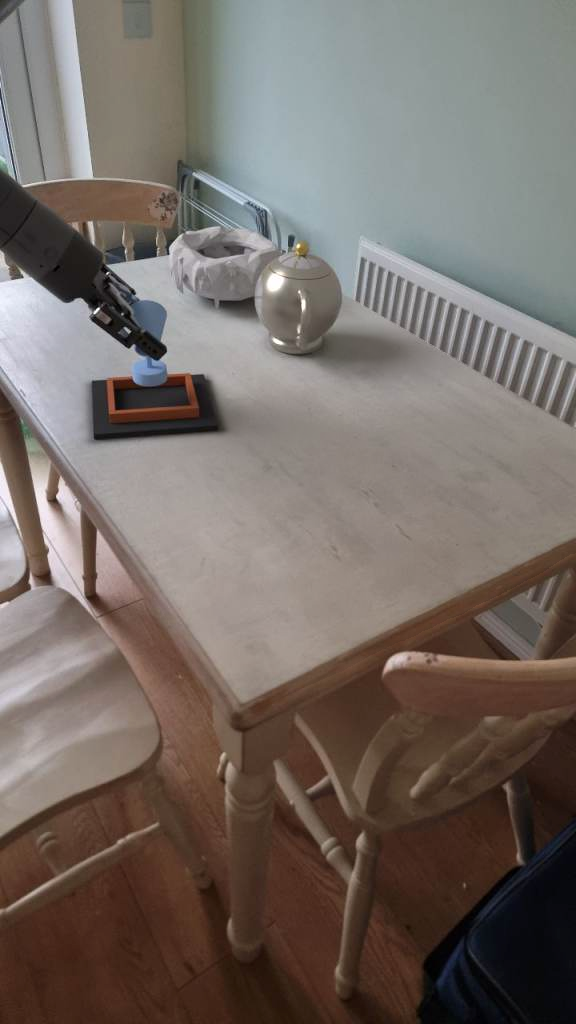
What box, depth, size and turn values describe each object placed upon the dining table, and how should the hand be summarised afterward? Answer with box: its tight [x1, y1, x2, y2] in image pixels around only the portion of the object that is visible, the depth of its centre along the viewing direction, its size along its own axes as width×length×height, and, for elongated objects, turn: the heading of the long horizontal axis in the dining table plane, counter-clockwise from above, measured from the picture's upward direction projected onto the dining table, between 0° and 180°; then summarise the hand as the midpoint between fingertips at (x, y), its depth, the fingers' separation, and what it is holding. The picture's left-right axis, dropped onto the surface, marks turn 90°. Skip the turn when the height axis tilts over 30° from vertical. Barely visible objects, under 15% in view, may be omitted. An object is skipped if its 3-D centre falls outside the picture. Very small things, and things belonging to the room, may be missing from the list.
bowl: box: [168, 225, 283, 309], centre depth 123 cm, size 21×20×10 cm
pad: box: [91, 372, 219, 440], centre depth 95 cm, size 16×14×2 cm
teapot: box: [254, 241, 343, 355], centre depth 107 cm, size 18×14×16 cm
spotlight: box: [130, 299, 168, 386], centre depth 89 cm, size 5×10×7 cm
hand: (159, 341), depth 90 cm, fingers closed on spotlight, 7 cm apart
